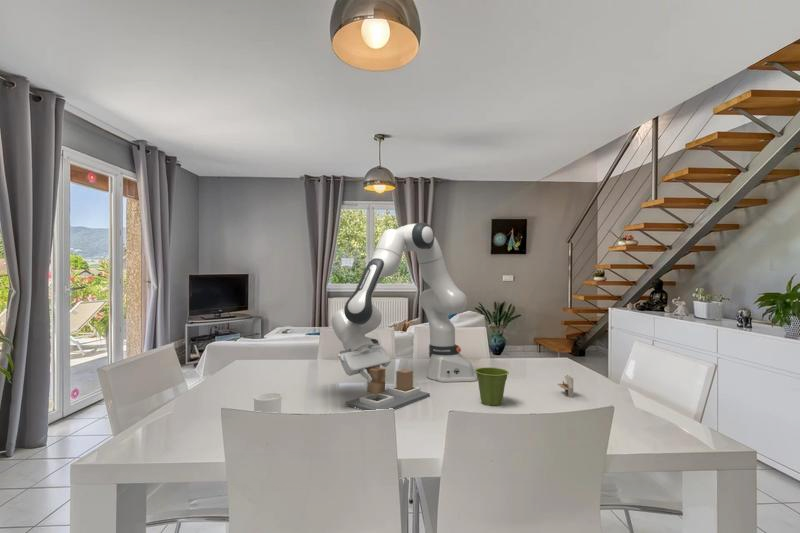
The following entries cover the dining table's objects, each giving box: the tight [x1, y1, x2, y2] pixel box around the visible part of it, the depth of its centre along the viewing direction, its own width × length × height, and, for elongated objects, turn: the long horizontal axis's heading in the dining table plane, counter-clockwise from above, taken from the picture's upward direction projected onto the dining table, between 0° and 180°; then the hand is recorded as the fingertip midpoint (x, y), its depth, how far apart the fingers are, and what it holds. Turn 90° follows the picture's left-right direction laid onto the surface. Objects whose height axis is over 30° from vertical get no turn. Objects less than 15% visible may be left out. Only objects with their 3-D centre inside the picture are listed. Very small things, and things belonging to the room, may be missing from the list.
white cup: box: [253, 391, 283, 414], centre depth 123 cm, size 8×8×10 cm
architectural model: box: [556, 374, 575, 399], centre depth 157 cm, size 3×7×7 cm, turn 0°
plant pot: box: [474, 366, 510, 406], centre depth 148 cm, size 12×12×11 cm
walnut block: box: [366, 367, 386, 394], centre depth 146 cm, size 4×4×8 cm
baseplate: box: [345, 368, 431, 411], centre depth 151 cm, size 27×16×9 cm, turn 139°
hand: (377, 379), depth 145 cm, fingers closed on walnut block, 4 cm apart
